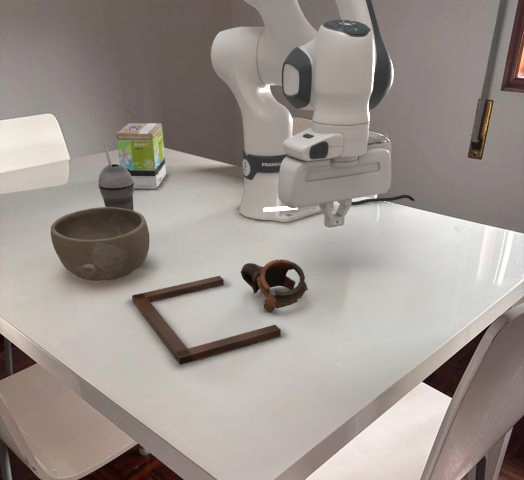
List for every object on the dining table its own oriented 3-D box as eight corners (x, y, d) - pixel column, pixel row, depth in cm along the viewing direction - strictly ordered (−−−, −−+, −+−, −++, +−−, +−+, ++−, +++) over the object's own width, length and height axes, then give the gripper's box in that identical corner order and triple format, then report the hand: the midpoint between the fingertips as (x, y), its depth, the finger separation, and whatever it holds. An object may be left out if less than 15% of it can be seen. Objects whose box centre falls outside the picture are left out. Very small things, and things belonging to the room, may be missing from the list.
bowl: (108, 299, 98) (98, 245, 92) (39, 277, 106) (27, 226, 100) (172, 265, 110) (167, 215, 105) (106, 247, 118) (98, 200, 113)
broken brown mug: (310, 291, 100) (317, 264, 93) (291, 333, 96) (297, 308, 89) (248, 268, 102) (250, 239, 95) (227, 308, 98) (228, 281, 90)
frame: (219, 281, 103) (219, 275, 103) (280, 336, 87) (280, 329, 86) (132, 301, 97) (131, 295, 96) (180, 365, 80) (179, 358, 79)
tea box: (158, 189, 154) (152, 132, 146) (122, 189, 154) (113, 132, 146) (167, 174, 166) (162, 121, 158) (133, 175, 166) (126, 121, 159)
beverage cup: (133, 244, 119) (119, 146, 109) (101, 242, 121) (84, 145, 110) (145, 232, 125) (134, 138, 115) (115, 230, 127) (101, 137, 116)
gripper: (380, 131, 95) (372, 211, 102) (273, 142, 87) (273, 229, 94) (404, 137, 90) (394, 221, 97) (294, 150, 82) (292, 241, 89)
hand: (333, 225), depth 95 cm, fingers closed
